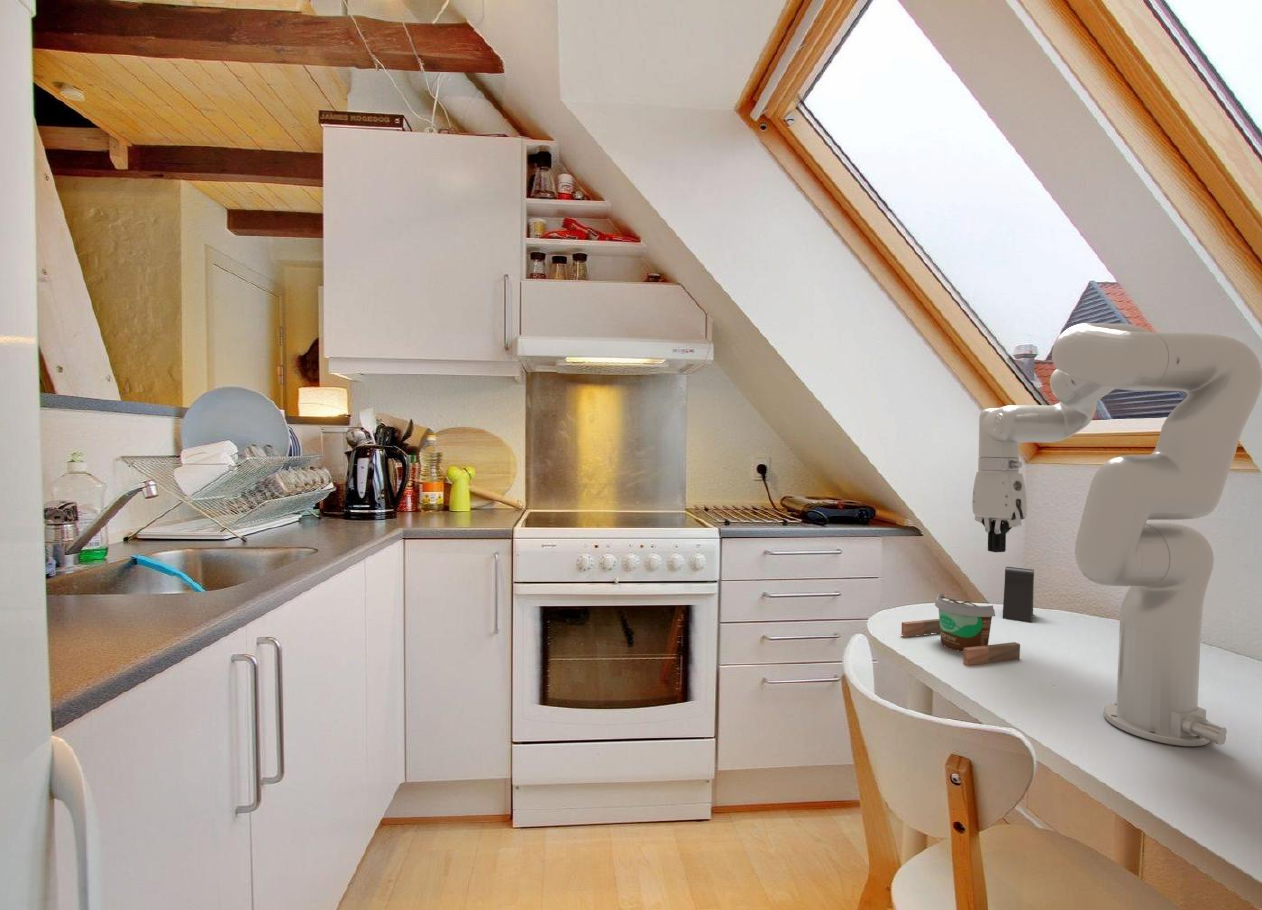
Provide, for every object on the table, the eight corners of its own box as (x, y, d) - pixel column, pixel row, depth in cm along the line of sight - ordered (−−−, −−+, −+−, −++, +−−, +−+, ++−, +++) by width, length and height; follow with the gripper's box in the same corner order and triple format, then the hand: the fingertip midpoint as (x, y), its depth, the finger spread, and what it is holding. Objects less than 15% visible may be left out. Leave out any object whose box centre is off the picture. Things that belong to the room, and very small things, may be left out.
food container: (921, 640, 136) (922, 595, 136) (939, 636, 139) (941, 592, 139) (974, 659, 126) (976, 609, 125) (994, 654, 128) (995, 606, 128)
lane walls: (1019, 658, 126) (1020, 643, 126) (968, 665, 122) (968, 649, 122) (948, 630, 144) (948, 617, 143) (901, 635, 140) (901, 622, 140)
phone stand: (1005, 610, 161) (1007, 563, 161) (1033, 614, 158) (1034, 566, 157) (1002, 618, 154) (1003, 569, 153) (1031, 622, 150) (1032, 573, 150)
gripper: (1043, 467, 128) (1042, 556, 129) (983, 464, 142) (981, 545, 143) (1015, 467, 126) (1013, 558, 126) (956, 464, 140) (955, 546, 141)
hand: (996, 551), depth 135 cm, fingers closed
